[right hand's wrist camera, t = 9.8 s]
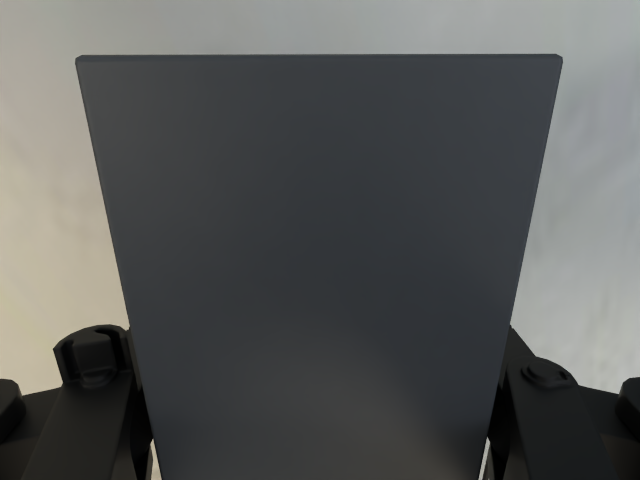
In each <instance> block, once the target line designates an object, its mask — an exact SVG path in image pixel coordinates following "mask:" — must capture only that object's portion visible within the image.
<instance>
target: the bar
mask: <svg viewBox="0 0 640 480" xmlns="http://www.w3.org/2000/svg"><path fill="white" fill-rule="evenodd" d="M562 64H563V59H562V57H561V56H559V55H557V54H303V55H81V56H79V57H77V58H76V61H75V65H76V69H77V74H78V79H79V84H80V89H81V93H82V98H83V103H84V108H85V113H86V117H87V122H88V127H89V132H90V137H91V142H92V146H93V151H94V156H95V161H96V166H97V170H98V175H99V180H100V185H101V190H102V194H103V199H104V204H105V209H106V214H107V218H108V223H109V228H110V233H111V238H112V242H113V247H114V252H115V257H116V262H117V267H118V271H119V276H120V281H121V286H122V291H123V295H124V300H125V305H126V310H127V315H128V319H129V324H130V329H131V334H132V339H133V343H134V348H135V353H136V358H137V363H138V367H139V372H140V377H141V382H142V387H143V392H144V396H145V401H146V406H147V411H148V416H149V420H150V425H151V430H152V435H153V440H154V444H155V449H156V454H157V459H158V464H159V468H160V473H161V478H162V480H478V479H479V474H480V469H481V464H482V459H483V454H484V449H485V444H486V439H487V434H488V429H489V425H490V420H491V415H492V410H493V405H494V400H495V395H496V390H497V385H498V380H499V375H500V370H501V365H502V360H503V355H504V350H505V345H506V341H507V336H508V331H509V326H510V321H511V316H512V311H513V306H514V301H515V296H516V291H517V286H518V281H519V276H520V271H521V266H522V261H523V257H524V252H525V247H526V242H527V237H528V232H529V227H530V222H531V217H532V212H533V207H534V202H535V197H536V192H537V187H538V182H539V177H540V173H541V168H542V163H543V158H544V153H545V148H546V143H547V138H548V133H549V128H550V123H551V118H552V113H553V108H554V103H555V98H556V93H557V89H558V84H559V79H560V74H561V69H562Z"/></svg>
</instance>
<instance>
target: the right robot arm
mask: <svg viewBox="0 0 640 480" xmlns="http://www.w3.org/2000/svg"><path fill="white" fill-rule="evenodd" d="M53 351H54V354H55V358H56V361H57V364H58V368H59V371H60V374H61V377H62V381H63V384H62V386H61V387H59V388H56V389H51V390H47V391H42V392H37V393H33V394H28V395H23V396H22V394H21V391H20V389H19V386H18V384H17V383H15V382H14V381H13V380H8V379H0V480H151V474H152V465H153V456H152V450H151V446H150V444H151V441H152V439H153V435H152V430H151V425H150V420H149V416H148V411H147V406H146V401H145V396H144V392H143V387H142V382H141V377H140V372H139V367H138V363H137V358H136V353H135V348H134V343H133V339H132V334H131V329H130V327H129V330H127V331H125V330H124V329H123V328H121V327H120V326H115V325H110V324H109V325H96V326H92V327H88V328H84V329H81V330H79V331H76V332H74V333H72V334H70V335H68V336H67V337H65V338H64V339H62V340H61V341H59V343H58V344H57V345H56V346H55V347H54V348H53ZM487 437H488V439H489V441H490V446H489V450H488V455H487V460H486V464H485V469H484V474H483V479H482V480H488V479H489V480H640V377H636V378H629V379H628V380H626V381H625V382H623V384H622V387H621V390H620V393H619V394H615V393H611V392H606V391H601V390H597V389H592V388H587V387H584V386H580V385H578V383H577V381H576V380H575V379H574V377H573V376H572V375H571V373H569V372H568V371H567V370H565V369H564V368H563V367H561V366H560V365H558V364H556V363H554V362H552V361H549V360H547V359H543V358H540V357H536V356H535V355H534V354H533V352H532V351H531V350H530V349H529V347H528V346H527V345H526V344H525V342H524V341H523V340H522V339H521V337H520V336H519V335H518V334H517V332H516V331H515V330H514V329H513V328H512V327H511V325H510V326H509V331H508V336H507V341H506V345H505V350H504V355H503V360H502V365H501V370H500V375H499V380H498V385H497V390H496V395H495V400H494V405H493V410H492V415H491V420H490V425H489V429H488V434H487Z"/></svg>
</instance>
